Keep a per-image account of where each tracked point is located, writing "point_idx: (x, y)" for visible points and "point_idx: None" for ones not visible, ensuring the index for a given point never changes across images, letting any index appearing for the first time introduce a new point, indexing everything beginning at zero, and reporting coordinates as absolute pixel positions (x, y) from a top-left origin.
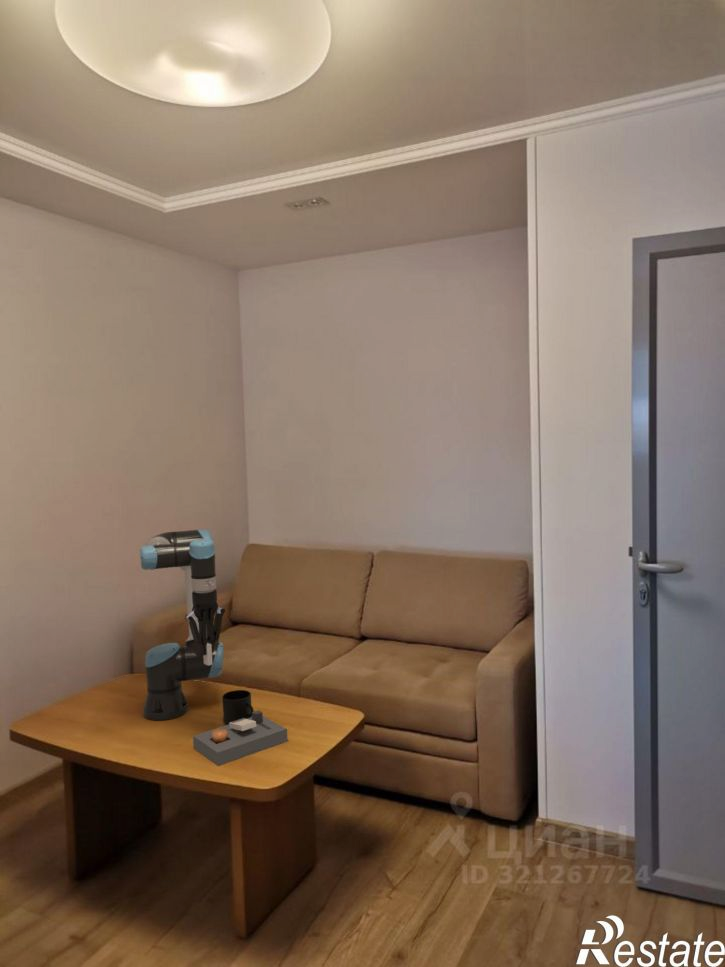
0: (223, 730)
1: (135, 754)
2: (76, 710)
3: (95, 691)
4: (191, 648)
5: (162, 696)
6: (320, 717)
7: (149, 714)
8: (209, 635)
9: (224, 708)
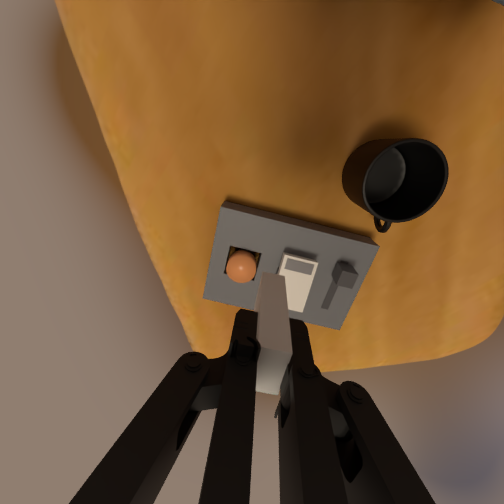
0: (250, 271)
1: (132, 115)
2: None
3: None
4: None
5: None
6: (450, 302)
7: None
8: (284, 447)
9: (356, 169)
